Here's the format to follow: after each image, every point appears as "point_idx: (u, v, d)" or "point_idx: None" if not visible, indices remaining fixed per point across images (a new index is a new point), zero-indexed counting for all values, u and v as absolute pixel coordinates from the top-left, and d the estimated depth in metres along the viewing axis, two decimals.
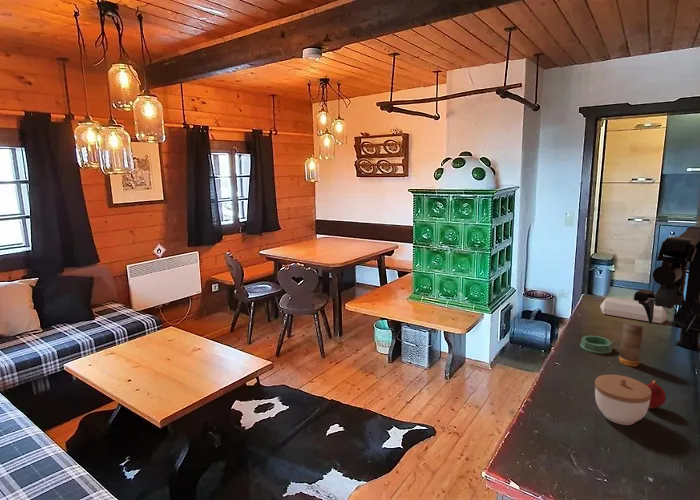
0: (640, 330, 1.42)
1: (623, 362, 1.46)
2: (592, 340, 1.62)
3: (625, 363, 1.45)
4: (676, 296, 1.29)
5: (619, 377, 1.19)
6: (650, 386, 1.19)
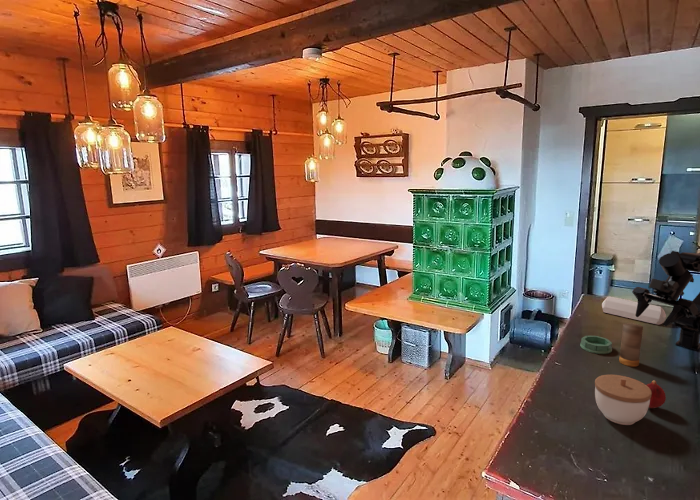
0: (640, 330, 1.42)
1: (623, 362, 1.46)
2: (592, 340, 1.62)
3: (625, 363, 1.45)
4: (670, 281, 1.43)
5: (619, 377, 1.19)
6: (650, 386, 1.19)
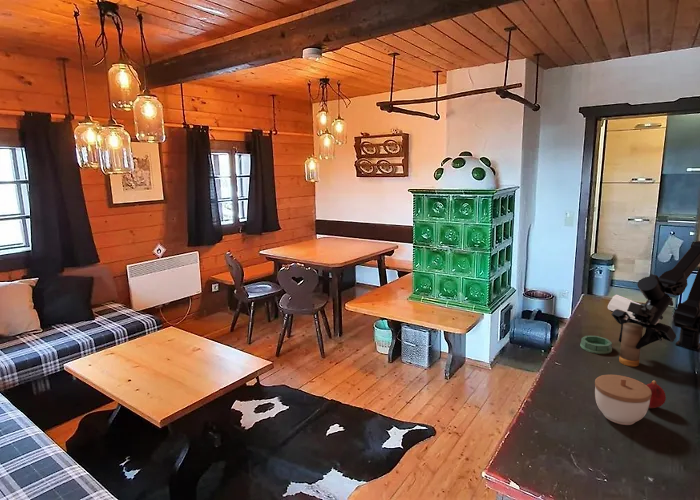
0: (640, 330, 1.42)
1: (623, 362, 1.46)
2: (592, 340, 1.62)
3: (625, 363, 1.45)
4: (648, 305, 1.41)
5: (619, 376, 1.19)
6: (650, 386, 1.19)
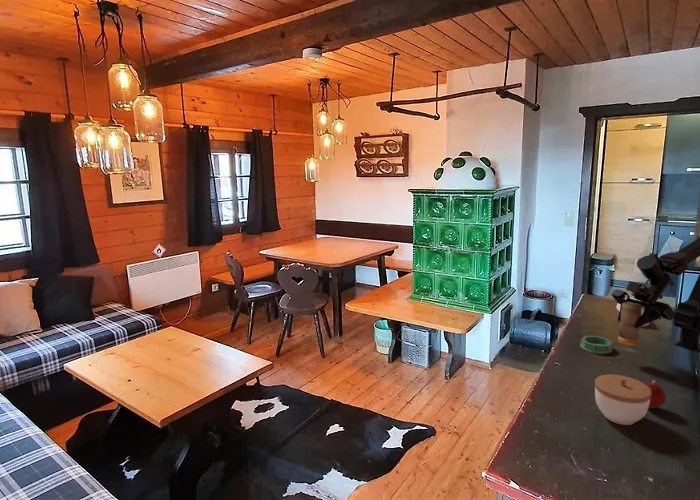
0: (639, 309, 1.41)
1: (622, 341, 1.45)
2: (592, 340, 1.62)
3: (624, 342, 1.45)
4: (647, 284, 1.40)
5: (619, 376, 1.19)
6: (650, 386, 1.19)
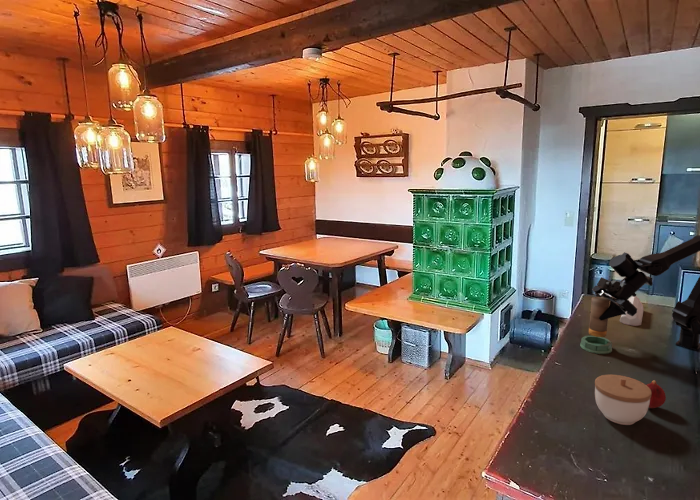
0: (604, 303, 1.52)
1: (590, 332, 1.57)
2: (592, 340, 1.62)
3: (591, 333, 1.57)
4: (613, 280, 1.50)
5: (619, 376, 1.19)
6: (650, 386, 1.19)
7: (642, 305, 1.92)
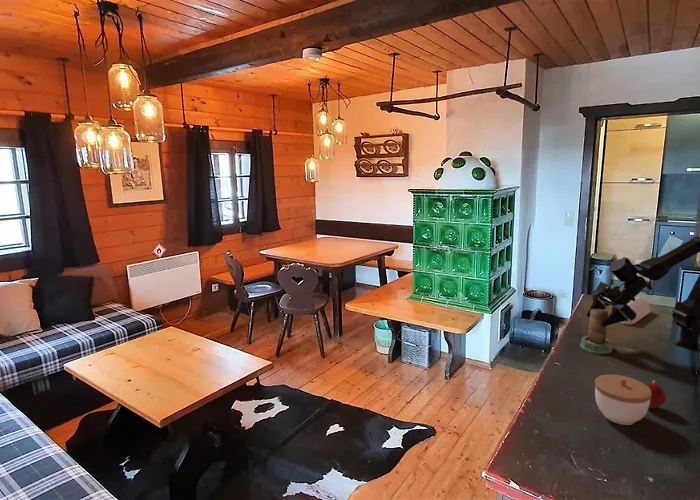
0: (602, 315, 1.53)
1: None
2: None
3: None
4: (613, 285, 1.51)
5: (619, 376, 1.19)
6: (650, 386, 1.19)
7: (648, 307, 1.90)
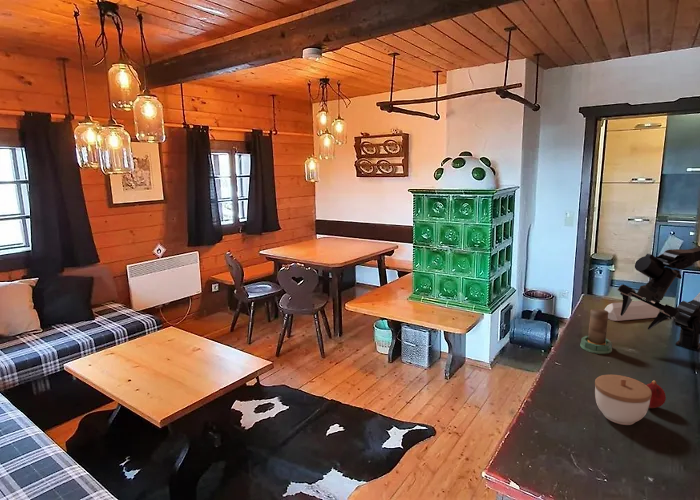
0: (603, 315, 1.53)
1: None
2: None
3: None
4: (659, 291, 1.45)
5: (620, 377, 1.19)
6: (650, 386, 1.19)
7: (657, 311, 1.85)
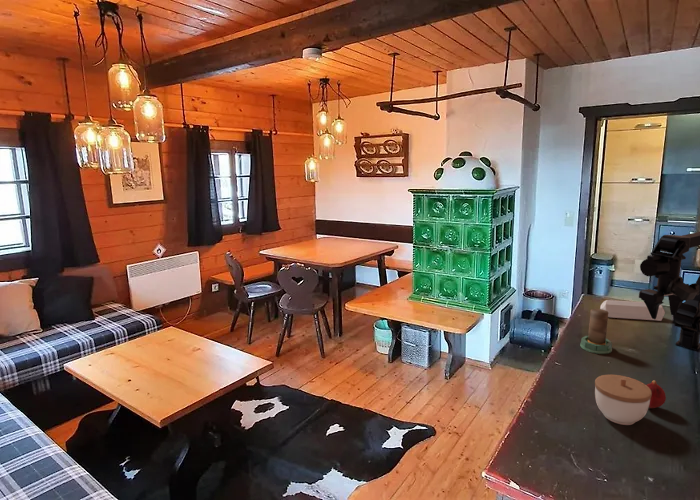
0: (603, 315, 1.53)
1: None
2: None
3: None
4: (697, 287, 1.43)
5: (619, 377, 1.19)
6: (650, 386, 1.19)
7: (659, 314, 1.81)
